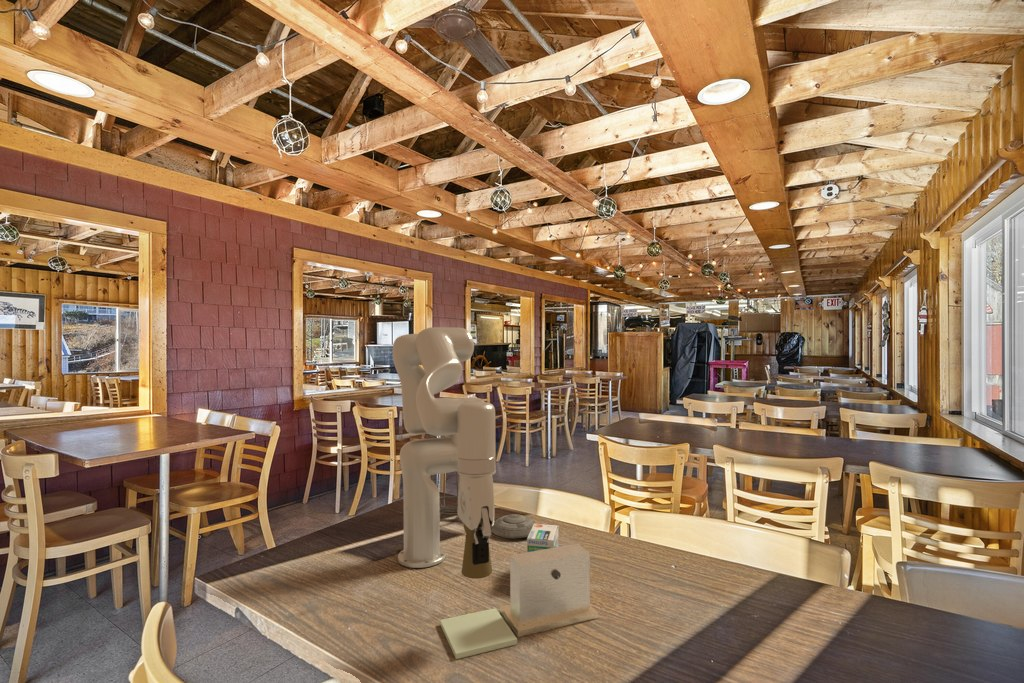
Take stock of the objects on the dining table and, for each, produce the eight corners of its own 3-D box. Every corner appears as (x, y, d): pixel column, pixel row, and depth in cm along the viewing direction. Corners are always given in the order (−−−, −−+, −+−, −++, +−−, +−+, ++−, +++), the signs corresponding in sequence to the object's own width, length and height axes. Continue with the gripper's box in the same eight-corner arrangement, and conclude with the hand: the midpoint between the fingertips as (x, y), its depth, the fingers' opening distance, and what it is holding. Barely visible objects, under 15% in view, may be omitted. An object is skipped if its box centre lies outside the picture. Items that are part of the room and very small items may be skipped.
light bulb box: (554, 586, 117) (554, 540, 117) (526, 583, 118) (526, 538, 118) (559, 566, 127) (559, 524, 127) (533, 564, 129) (533, 522, 129)
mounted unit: (500, 611, 106) (499, 549, 106) (574, 595, 112) (574, 537, 112) (518, 637, 96) (517, 569, 96) (597, 617, 103) (597, 554, 103)
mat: (440, 624, 101) (440, 619, 101) (495, 612, 105) (495, 608, 105) (456, 659, 90) (456, 653, 90) (517, 644, 94) (517, 638, 94)
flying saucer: (539, 542, 143) (539, 523, 144) (488, 542, 144) (488, 523, 144) (538, 524, 158) (538, 506, 158) (491, 524, 159) (491, 506, 159)
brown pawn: (461, 565, 100) (461, 510, 101) (491, 564, 101) (491, 509, 101) (461, 579, 94) (461, 521, 95) (492, 577, 95) (492, 520, 95)
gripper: (447, 458, 104) (447, 545, 104) (470, 477, 89) (471, 580, 88) (481, 455, 107) (481, 540, 107) (509, 473, 91) (510, 573, 91)
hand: (477, 557), depth 98 cm, fingers closed on brown pawn, 3 cm apart
